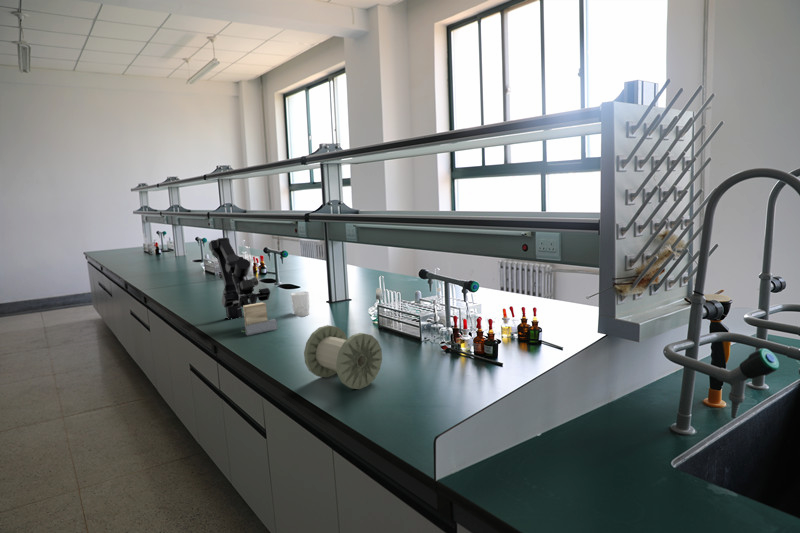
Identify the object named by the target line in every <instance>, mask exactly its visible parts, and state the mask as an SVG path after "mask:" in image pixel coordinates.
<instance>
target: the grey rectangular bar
mask: <svg viewBox="0 0 800 533" xmlns="http://www.w3.org/2000/svg"><path fill="white" fill-rule="evenodd" d="M277 322H278V321H277V319H275V318H272V319H267V320H266V321H261V322H256V323H251V324H246V325H245V324H244V329H245V332H244V333H245V335H246V336H253V335H257V334H261V333H266V332H271V331H276V330H278V323H277Z"/></svg>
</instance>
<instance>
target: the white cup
mask: <svg viewBox="0 0 800 533" xmlns="http://www.w3.org/2000/svg"><path fill="white" fill-rule="evenodd" d="M290 298H291V303H292V310H293V314H294V316H297V317H300V318H301V317H306V316H309V315H310V292H309V291H296V292H295V291H294V292H292V293H291V294H290Z"/></svg>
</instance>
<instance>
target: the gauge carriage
mask: <svg viewBox="0 0 800 533" xmlns="http://www.w3.org/2000/svg"><path fill="white" fill-rule="evenodd" d="M242 309H243V310H242V312H243V315H244V317H243V319H244V326H245V325H246V324H251V323H256V322H261V321H266V320H268V314H267V313H268V312H267V304H266V302H265V303H264V301H260V302H256V303H255V304H250V305H244V306H243V307H242ZM242 331H245V328H243V329H241V332H242Z"/></svg>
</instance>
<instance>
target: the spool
mask: <svg viewBox="0 0 800 533" xmlns="http://www.w3.org/2000/svg"><path fill="white" fill-rule="evenodd" d="M303 351H304V352H303V357H304V364H305V365H306V367H307V370H308V371H309V372H310V373H312V374H313V375H314V376H317V377H319V378H329V377H331V376H335V375H337V376H338V379H339V380H340V382H341V383H342V384H343V385H345V387H347V388H350V389H353V390H354V389H356V390H361V389H363V388H365V387H368V386H369V385H371V383H373V382H374V380H375V379H376V377H377V376H378V374H379V372H380V370H381V366H382V361H383V354H382V348H381V345H380V343H379V341H378V339H377V338H375V337H374V336H373V335H372V334H367V333H363V332H359V333H355V334H352V335H351V336H349V337H347V335H346V333H345V332H344V331H343V330H342V329H341V328H340V327H337V326H335V325H334V326H333V325H328V324H327V325H324V326H320V327H318V328H316V329H315V330H314V331H313V332H312V333H311V334H310V335H309V338H308V339H307V340H306V343H305V346H304V350H303Z"/></svg>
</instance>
